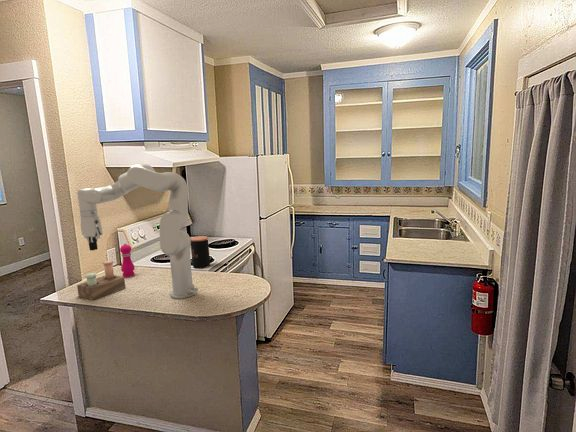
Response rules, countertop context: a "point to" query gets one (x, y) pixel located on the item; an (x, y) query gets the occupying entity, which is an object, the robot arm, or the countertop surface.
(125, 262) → the pepper mill
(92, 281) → the green plug
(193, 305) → the countertop surface
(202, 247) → the coffee jar
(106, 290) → the socket block
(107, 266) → the peach peg
